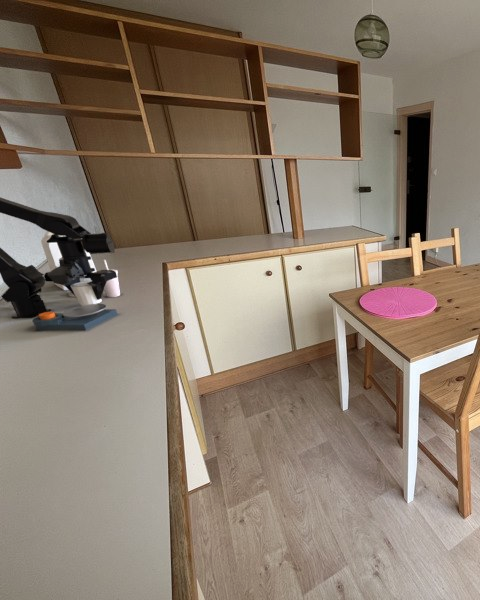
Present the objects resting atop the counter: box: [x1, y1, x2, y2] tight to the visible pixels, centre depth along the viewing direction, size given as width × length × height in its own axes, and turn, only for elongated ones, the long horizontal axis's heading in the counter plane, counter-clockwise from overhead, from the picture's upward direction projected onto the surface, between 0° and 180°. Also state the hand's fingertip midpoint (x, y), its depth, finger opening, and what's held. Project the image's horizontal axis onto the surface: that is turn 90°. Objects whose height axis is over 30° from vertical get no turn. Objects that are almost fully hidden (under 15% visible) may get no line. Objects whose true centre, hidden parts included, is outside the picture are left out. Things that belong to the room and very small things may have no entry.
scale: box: [32, 308, 118, 331], centre depth 98 cm, size 14×13×4 cm
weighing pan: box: [62, 303, 107, 317], centre depth 98 cm, size 10×10×1 cm
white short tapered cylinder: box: [71, 281, 103, 306], centre depth 108 cm, size 7×7×7 cm
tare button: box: [37, 311, 56, 320], centre depth 93 cm, size 3×3×2 cm
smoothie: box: [103, 259, 121, 298], centre depth 118 cm, size 6×6×14 cm
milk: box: [40, 231, 98, 291], centre depth 128 cm, size 12×12×26 cm
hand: (89, 299), depth 108 cm, fingers closed on white short tapered cylinder, 6 cm apart
